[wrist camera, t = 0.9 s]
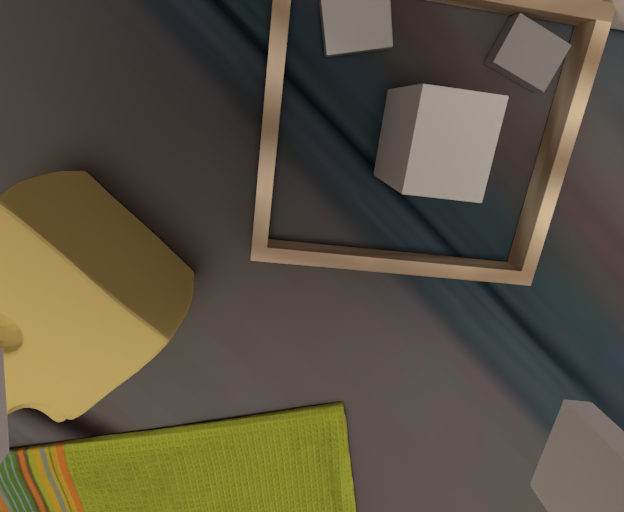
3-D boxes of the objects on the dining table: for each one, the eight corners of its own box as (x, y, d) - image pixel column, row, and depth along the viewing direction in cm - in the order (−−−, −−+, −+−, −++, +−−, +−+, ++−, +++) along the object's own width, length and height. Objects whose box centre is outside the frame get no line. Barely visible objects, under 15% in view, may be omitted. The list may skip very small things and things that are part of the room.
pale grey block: (387, 89, 28) (423, 83, 21) (454, 98, 28) (509, 96, 22) (373, 174, 30) (402, 194, 23) (436, 182, 30) (481, 203, 23)
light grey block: (318, 4, 26) (320, -2, 25) (383, -4, 26) (389, -11, 25) (323, 58, 27) (326, 55, 26) (386, 49, 27) (393, 46, 26)
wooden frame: (277, -45, 25) (277, -58, 23) (593, 10, 27) (617, 3, 25) (251, 251, 30) (250, 260, 29) (516, 275, 33) (530, 285, 31)
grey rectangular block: (506, 17, 27) (520, 12, 26) (555, 48, 28) (571, 45, 27) (481, 64, 28) (493, 61, 27) (529, 93, 29) (544, 92, 27)
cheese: (108, 360, 32) (40, 464, 23) (-19, 261, 29) (-158, 334, 20) (206, 271, 31) (177, 344, 21) (84, 157, 28) (-14, 182, 18)
